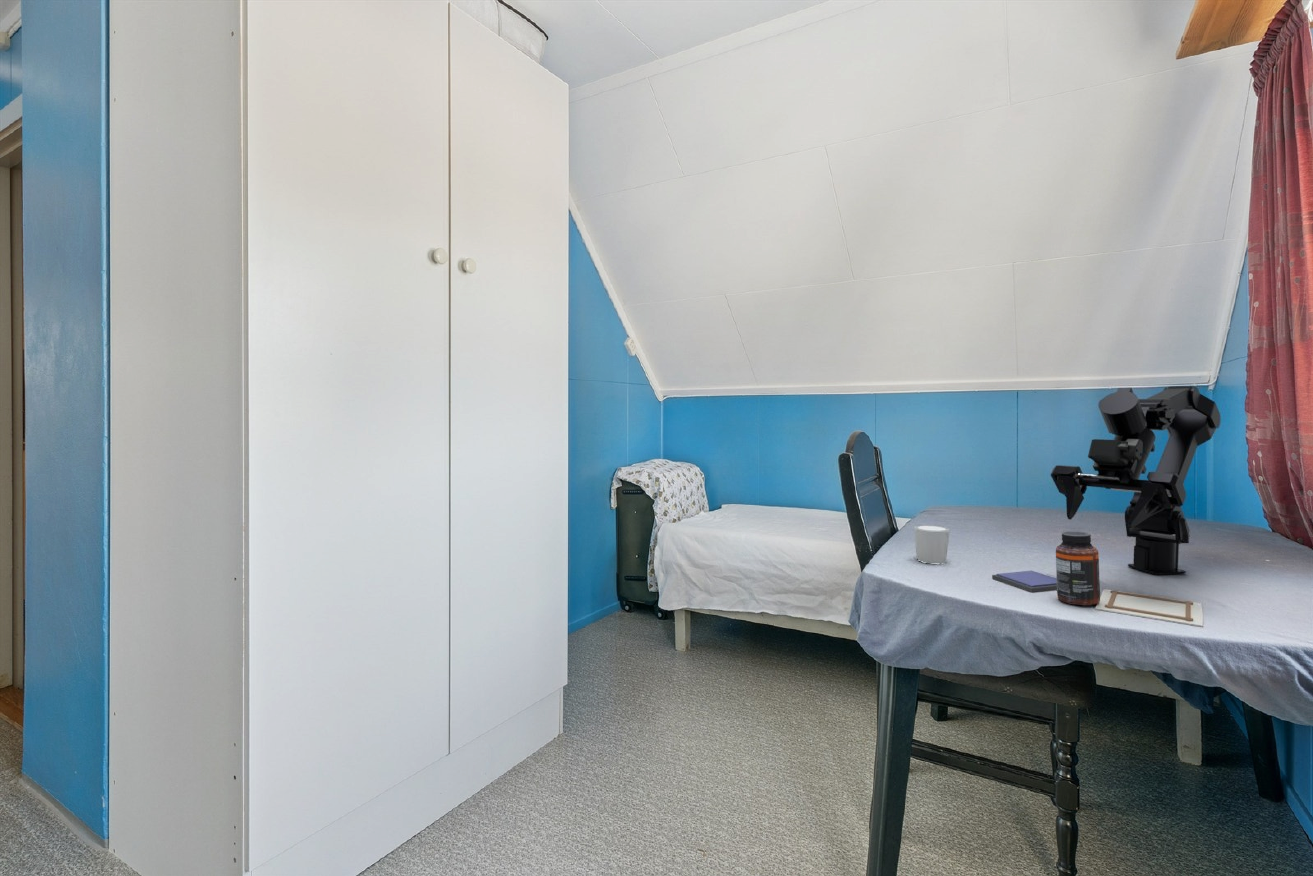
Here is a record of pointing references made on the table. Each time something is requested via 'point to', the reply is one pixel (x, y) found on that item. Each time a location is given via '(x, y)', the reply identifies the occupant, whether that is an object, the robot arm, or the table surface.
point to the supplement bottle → (1077, 569)
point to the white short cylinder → (931, 543)
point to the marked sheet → (1151, 607)
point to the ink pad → (1028, 580)
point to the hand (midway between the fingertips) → (1098, 521)
